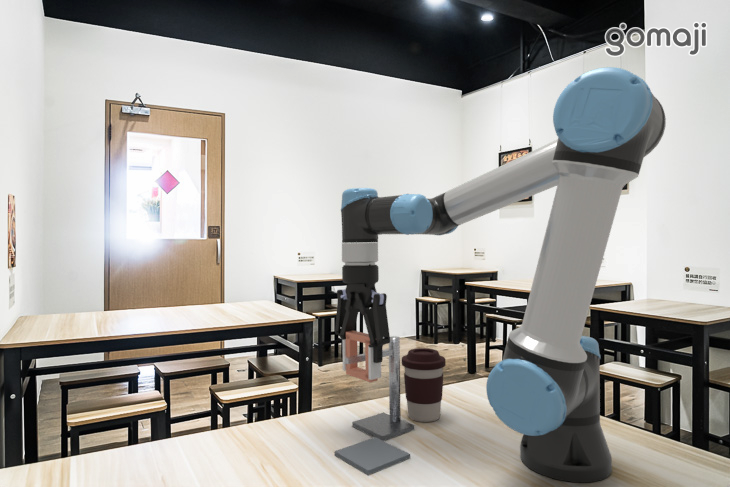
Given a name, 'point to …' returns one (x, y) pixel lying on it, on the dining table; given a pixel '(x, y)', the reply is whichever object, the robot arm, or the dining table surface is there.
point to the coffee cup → (423, 383)
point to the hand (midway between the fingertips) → (361, 373)
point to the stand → (384, 423)
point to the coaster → (372, 455)
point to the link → (352, 351)
